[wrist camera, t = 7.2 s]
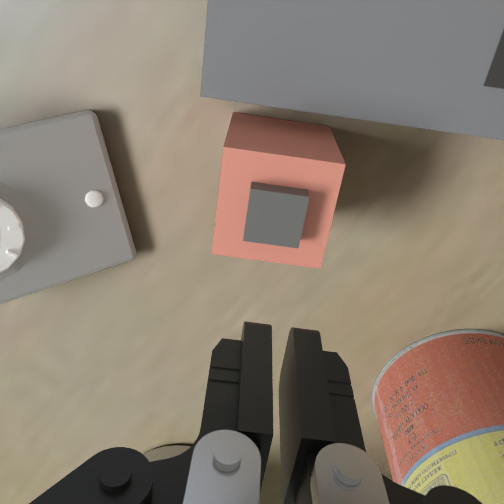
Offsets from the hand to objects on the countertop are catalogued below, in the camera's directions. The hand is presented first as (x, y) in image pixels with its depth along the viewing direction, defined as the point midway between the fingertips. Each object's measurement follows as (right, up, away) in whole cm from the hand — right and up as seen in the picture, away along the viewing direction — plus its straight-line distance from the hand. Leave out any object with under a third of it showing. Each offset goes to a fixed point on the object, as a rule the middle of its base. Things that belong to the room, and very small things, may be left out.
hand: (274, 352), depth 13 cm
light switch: (-14, +6, +15) cm, 21 cm away
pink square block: (+1, +7, +13) cm, 15 cm away
